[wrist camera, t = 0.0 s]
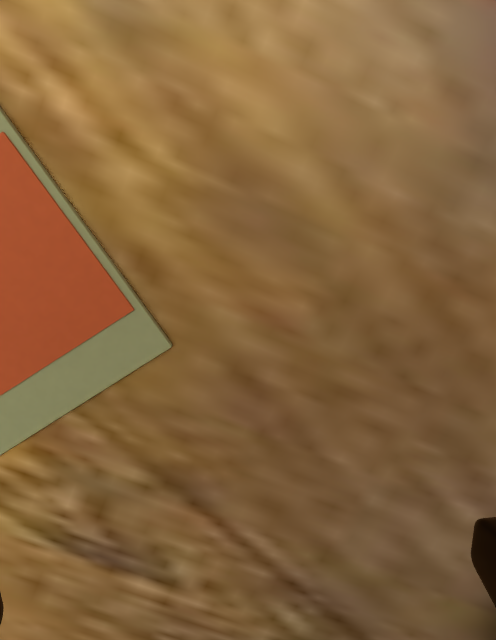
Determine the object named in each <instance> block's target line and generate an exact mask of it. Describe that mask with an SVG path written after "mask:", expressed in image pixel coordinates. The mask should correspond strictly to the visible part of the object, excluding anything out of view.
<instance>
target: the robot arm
mask: <svg viewBox="0 0 496 640" xmlns="http://www.w3.org/2000/svg"><path fill="white" fill-rule="evenodd" d="M471 558H472V562H473V565H474V567H475V569H476V571H477V573H478V575H479V577H480V579H481V580H482V582H483V584H484V586H485V588H486V590H487V592H488V594H489V596H490V598H491V599H492V601H493V603H494V605H495V607H496V517H492V518H482V519H478V520H477V521H476V523H475V526H474V533H473V541H472V548H471ZM2 617H3V602H2V597H1V593H0V624H1V621H2Z"/></svg>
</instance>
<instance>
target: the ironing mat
mask: <svg viewBox="0 0 496 640" xmlns="http://www.w3.org/2000/svg"><path fill="white" fill-rule="evenodd" d="M171 347H172V343H171V341H170V340H169V339H168V337H167V336H166V335H165V333H164V332H163V330H162V329H161V328H160V326H159V325H158V324H157V322H156V321H155V319H154V318H153V317H152V315H151V314H150V312H149V311H148V310H147V308H146V307H145V306H144V304H143V303H142V301H141V300H140V299H139V297H138V296H137V295H136V293H135V292H134V290H133V289H132V288H131V286H130V285H129V283H128V282H127V281H126V279H125V278H124V277H123V275H122V274H121V272H120V271H119V270H118V268H117V267H116V266H115V264H114V263H113V261H112V260H111V259H110V257H109V256H108V255H107V253H106V252H105V250H104V249H103V248H102V246H101V245H100V243H99V242H98V241H97V239H96V238H95V237H94V235H93V234H92V232H91V231H90V230H89V228H88V227H87V226H86V224H85V223H84V221H83V220H82V219H81V217H80V216H79V214H78V213H77V212H76V210H75V209H74V208H73V206H72V205H71V203H70V202H69V201H68V199H67V198H66V197H65V195H64V194H63V192H62V191H61V190H60V188H59V187H58V185H57V184H56V183H55V181H54V180H53V179H52V177H51V176H50V174H49V173H48V172H47V170H46V169H45V168H44V166H43V165H42V163H41V162H40V161H39V159H38V158H37V157H36V155H35V154H34V152H33V151H32V150H31V148H30V147H29V145H28V144H27V143H26V141H25V140H24V139H23V137H22V136H21V134H20V133H19V132H18V130H17V129H16V128H15V126H14V125H13V123H12V122H11V121H10V119H9V118H8V116H7V115H6V114H5V112H4V111H3V110H2V108H1V107H0V455H1V454H3V453H5V452H6V451H8V450H9V449H11V448H13V447H14V446H16V445H17V444H19V443H20V442H22V441H24V440H25V439H27V438H28V437H30V436H32V435H33V434H35V433H36V432H38V431H39V430H41V429H43V428H44V427H46V426H47V425H49V424H51V423H52V422H54V421H55V420H57V419H58V418H60V417H62V416H63V415H65V414H66V413H68V412H70V411H71V410H73V409H74V408H76V407H78V406H79V405H81V404H82V403H84V402H85V401H87V400H89V399H90V398H92V397H93V396H95V395H97V394H98V393H100V392H101V391H103V390H104V389H106V388H108V387H109V386H111V385H112V384H114V383H116V382H117V381H119V380H120V379H122V378H123V377H125V376H127V375H128V374H130V373H131V372H133V371H135V370H136V369H138V368H139V367H141V366H142V365H144V364H146V363H147V362H149V361H150V360H152V359H154V358H155V357H157V356H158V355H160V354H161V353H163V352H165V351H166V350H168V349H169V348H171Z"/></svg>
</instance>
